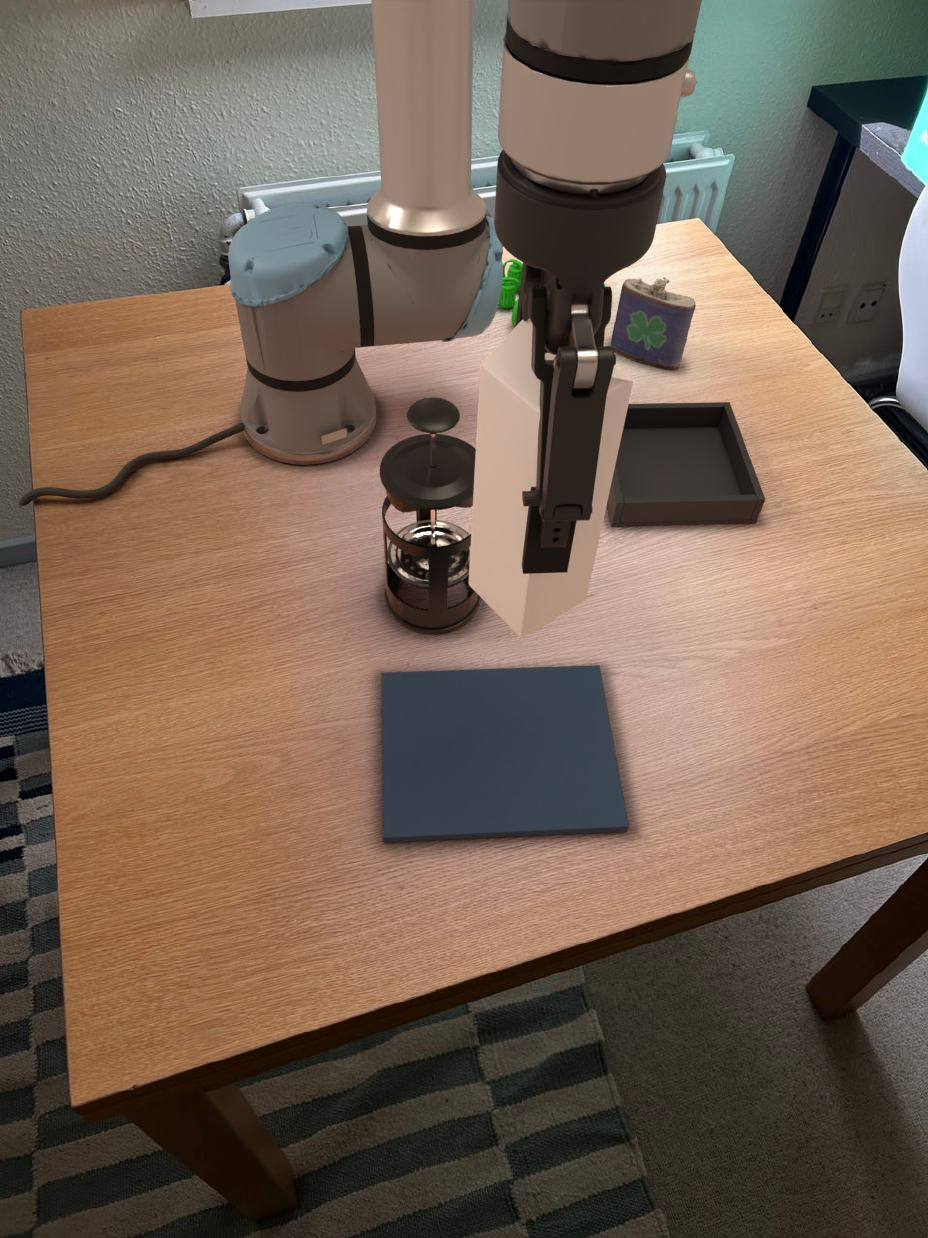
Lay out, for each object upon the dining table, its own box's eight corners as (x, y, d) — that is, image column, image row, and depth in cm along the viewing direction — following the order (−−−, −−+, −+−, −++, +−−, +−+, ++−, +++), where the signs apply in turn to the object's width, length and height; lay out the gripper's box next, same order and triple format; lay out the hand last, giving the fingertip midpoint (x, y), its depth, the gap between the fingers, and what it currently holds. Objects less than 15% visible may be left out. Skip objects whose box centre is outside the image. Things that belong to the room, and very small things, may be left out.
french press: (488, 635, 87) (503, 453, 69) (389, 644, 86) (378, 461, 68) (471, 544, 94) (480, 357, 76) (379, 551, 93) (367, 363, 75)
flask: (682, 362, 114) (703, 284, 105) (674, 375, 112) (694, 297, 104) (614, 339, 116) (629, 261, 108) (605, 351, 115) (619, 273, 106)
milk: (521, 640, 62) (556, 373, 44) (466, 584, 65) (479, 312, 47) (588, 599, 64) (646, 329, 47) (532, 546, 67) (568, 274, 49)
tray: (611, 526, 96) (616, 503, 94) (589, 428, 106) (594, 403, 103) (756, 523, 97) (765, 499, 94) (722, 425, 107) (729, 401, 104)
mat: (383, 843, 74) (382, 837, 73) (381, 678, 84) (381, 672, 83) (627, 831, 75) (629, 826, 74) (597, 671, 85) (599, 664, 84)
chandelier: (613, 338, 116) (622, 289, 111) (496, 342, 115) (500, 293, 110) (591, 272, 125) (599, 224, 120) (483, 275, 124) (486, 226, 119)
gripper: (724, 288, 34) (622, 647, 52) (626, 54, 47) (571, 407, 65) (523, 290, 34) (491, 651, 52) (480, 53, 46) (466, 409, 64)
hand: (536, 515), depth 58 cm, fingers closed on milk, 8 cm apart
